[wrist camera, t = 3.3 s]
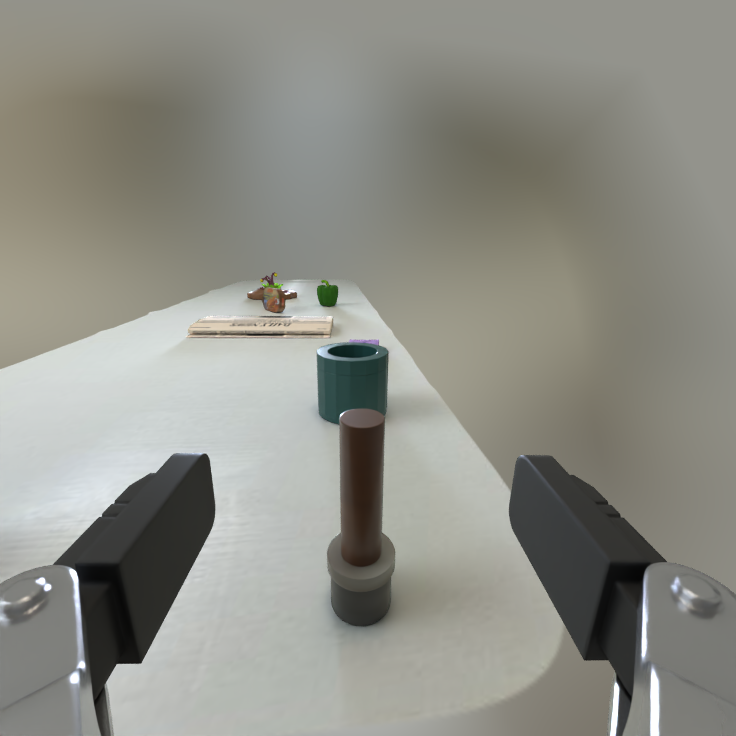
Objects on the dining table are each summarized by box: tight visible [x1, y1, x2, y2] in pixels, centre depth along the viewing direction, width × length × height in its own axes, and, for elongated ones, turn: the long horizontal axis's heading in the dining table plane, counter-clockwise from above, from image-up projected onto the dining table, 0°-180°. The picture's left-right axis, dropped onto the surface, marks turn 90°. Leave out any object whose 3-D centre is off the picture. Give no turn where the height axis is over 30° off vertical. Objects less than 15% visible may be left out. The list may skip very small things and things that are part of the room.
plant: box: [247, 273, 297, 300], centre depth 172 cm, size 20×20×11 cm
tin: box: [262, 287, 285, 312], centre depth 137 cm, size 15×3×8 cm, turn 37°
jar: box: [317, 342, 388, 424], centre depth 54 cm, size 10×10×9 cm
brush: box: [327, 409, 395, 626], centre depth 24 cm, size 4×4×14 cm
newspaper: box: [186, 316, 333, 338], centre depth 107 cm, size 37×19×3 cm, turn 92°
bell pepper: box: [317, 280, 338, 306], centre depth 151 cm, size 8×8×10 cm
